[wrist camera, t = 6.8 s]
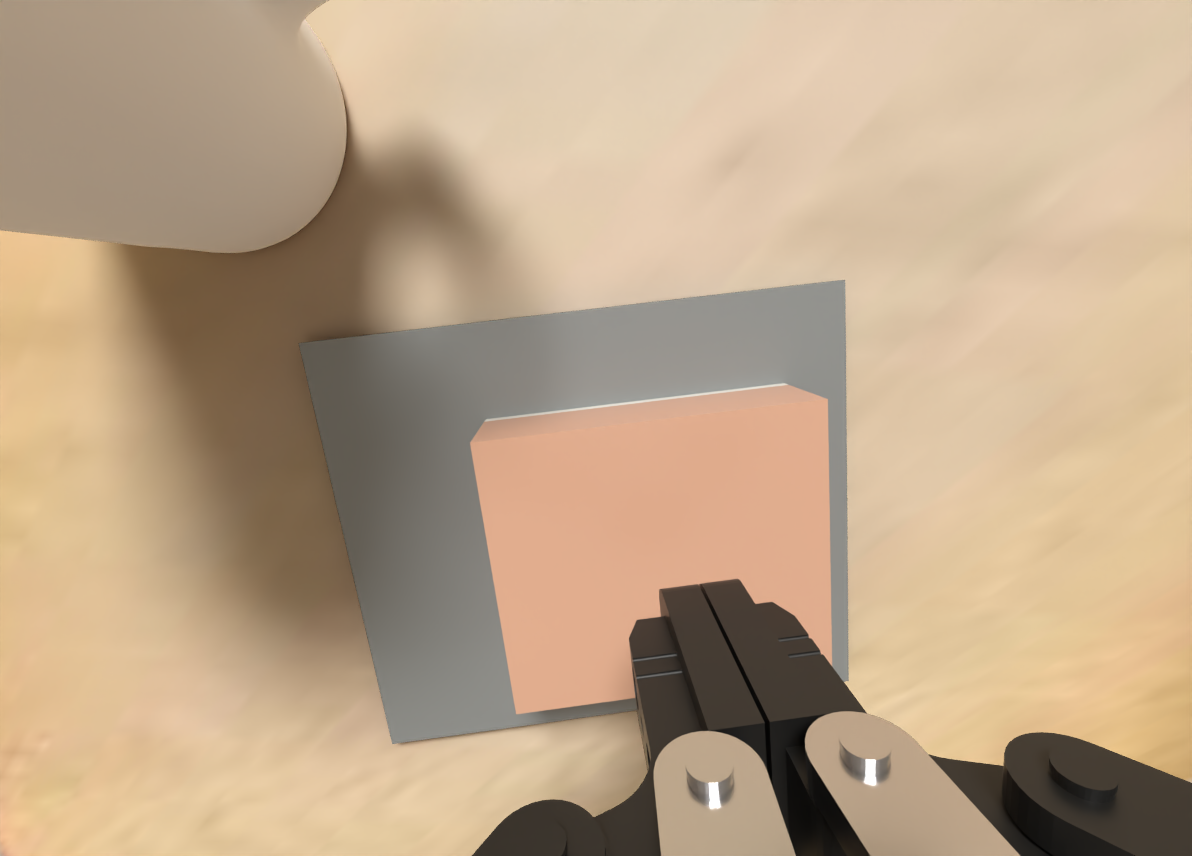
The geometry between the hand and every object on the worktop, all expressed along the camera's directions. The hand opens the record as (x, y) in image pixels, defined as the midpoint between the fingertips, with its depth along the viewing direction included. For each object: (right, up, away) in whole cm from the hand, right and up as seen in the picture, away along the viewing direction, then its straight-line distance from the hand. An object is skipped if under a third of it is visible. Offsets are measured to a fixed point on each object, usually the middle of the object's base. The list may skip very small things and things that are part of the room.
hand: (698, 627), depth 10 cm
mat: (-2, +1, +5) cm, 6 cm away
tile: (-4, 0, +4) cm, 6 cm away
